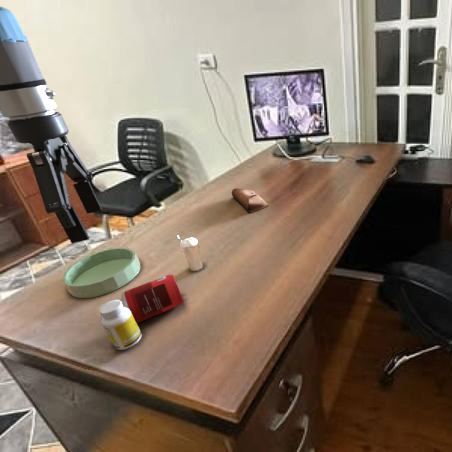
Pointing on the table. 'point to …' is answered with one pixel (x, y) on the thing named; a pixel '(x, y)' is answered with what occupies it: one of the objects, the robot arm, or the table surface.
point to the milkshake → (191, 253)
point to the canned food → (152, 298)
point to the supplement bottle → (119, 325)
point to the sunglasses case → (249, 199)
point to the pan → (101, 272)
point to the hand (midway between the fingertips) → (88, 225)
